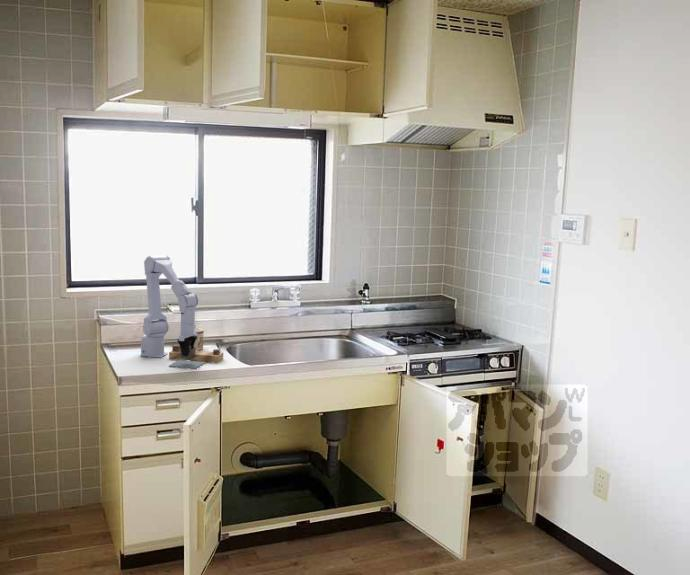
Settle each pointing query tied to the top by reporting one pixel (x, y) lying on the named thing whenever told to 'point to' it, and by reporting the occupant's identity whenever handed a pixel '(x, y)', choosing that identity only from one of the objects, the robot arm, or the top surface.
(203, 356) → the hand plane
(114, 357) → the top surface
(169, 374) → the top surface
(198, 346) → the teacup with lid
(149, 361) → the top surface
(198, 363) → the slate mat
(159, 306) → the robot arm
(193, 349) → the lever cap
